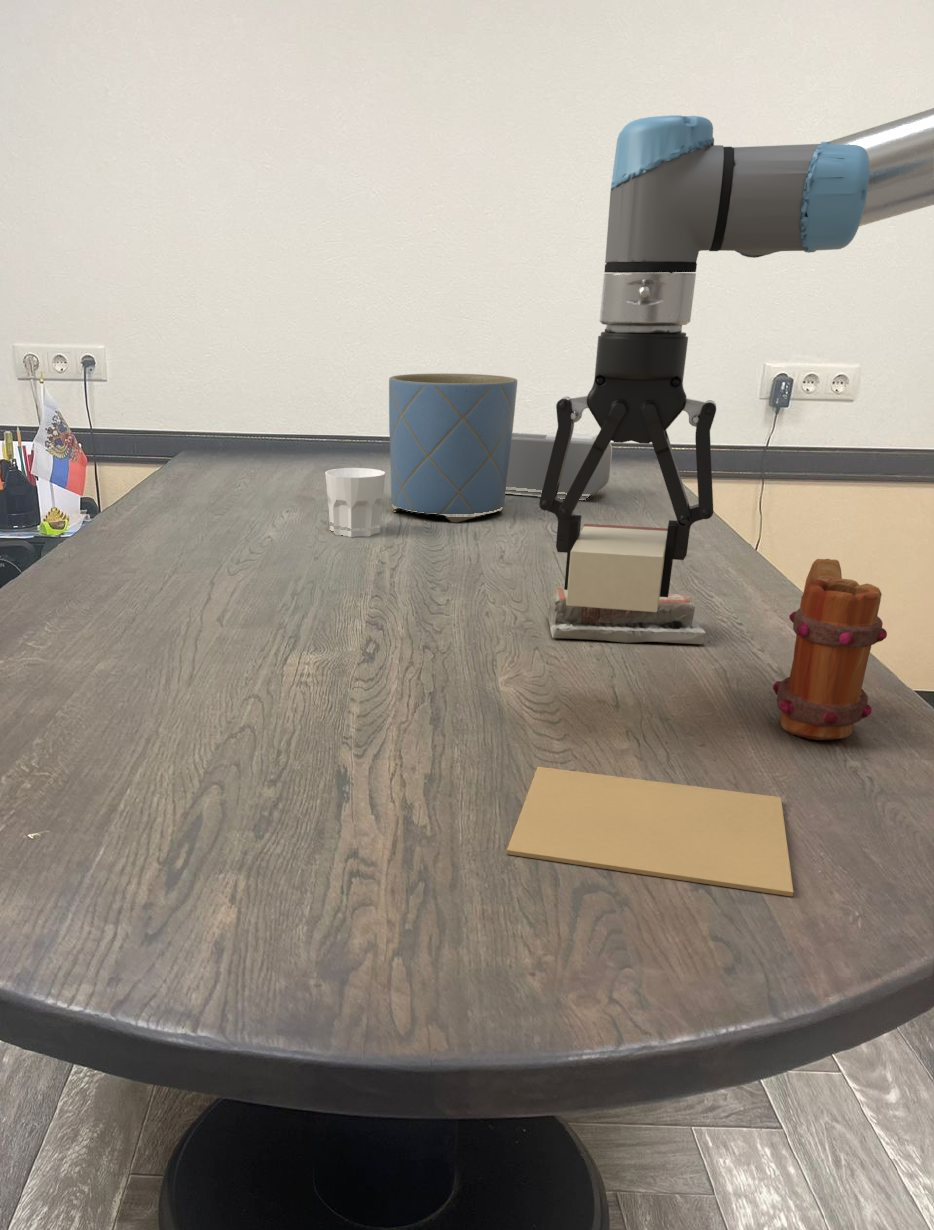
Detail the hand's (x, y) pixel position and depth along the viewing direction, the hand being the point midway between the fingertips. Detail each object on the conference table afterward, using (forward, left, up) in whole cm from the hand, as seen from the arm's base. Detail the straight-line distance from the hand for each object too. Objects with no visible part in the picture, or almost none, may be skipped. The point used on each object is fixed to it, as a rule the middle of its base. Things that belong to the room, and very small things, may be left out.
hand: (616, 589), depth 102 cm
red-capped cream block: (0, 0, 0) cm, 0 cm away
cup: (+48, -74, -13) cm, 89 cm away
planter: (+37, -97, -13) cm, 105 cm away
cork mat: (-6, +24, -12) cm, 28 cm away
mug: (-19, -4, -13) cm, 23 cm away
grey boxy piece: (0, -29, -13) cm, 32 cm away
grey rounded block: (+24, -122, -13) cm, 125 cm away
